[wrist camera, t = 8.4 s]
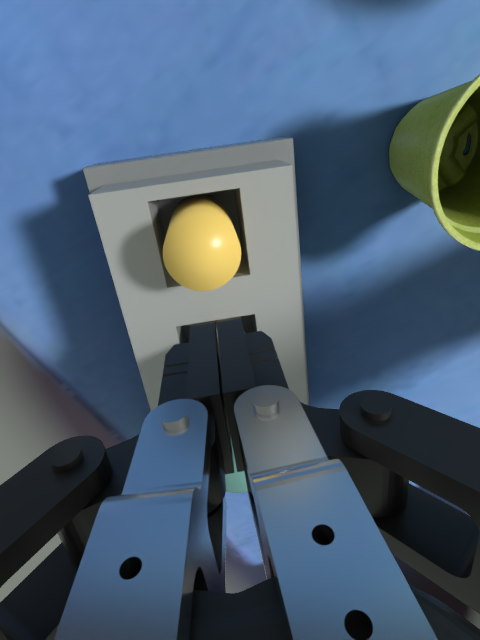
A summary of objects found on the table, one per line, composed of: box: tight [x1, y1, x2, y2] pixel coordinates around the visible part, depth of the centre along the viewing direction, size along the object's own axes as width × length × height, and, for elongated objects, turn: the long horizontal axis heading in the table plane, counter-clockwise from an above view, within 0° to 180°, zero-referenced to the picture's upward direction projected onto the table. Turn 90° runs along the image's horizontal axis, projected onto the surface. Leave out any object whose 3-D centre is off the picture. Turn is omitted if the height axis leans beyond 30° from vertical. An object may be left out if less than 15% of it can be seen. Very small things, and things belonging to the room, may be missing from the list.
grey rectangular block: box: [83, 137, 309, 411], centre depth 27 cm, size 12×22×7 cm, turn 7°
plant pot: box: [389, 74, 480, 251], centre depth 23 cm, size 9×9×9 cm
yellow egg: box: [163, 194, 241, 291], centre depth 21 cm, size 4×4×6 cm
